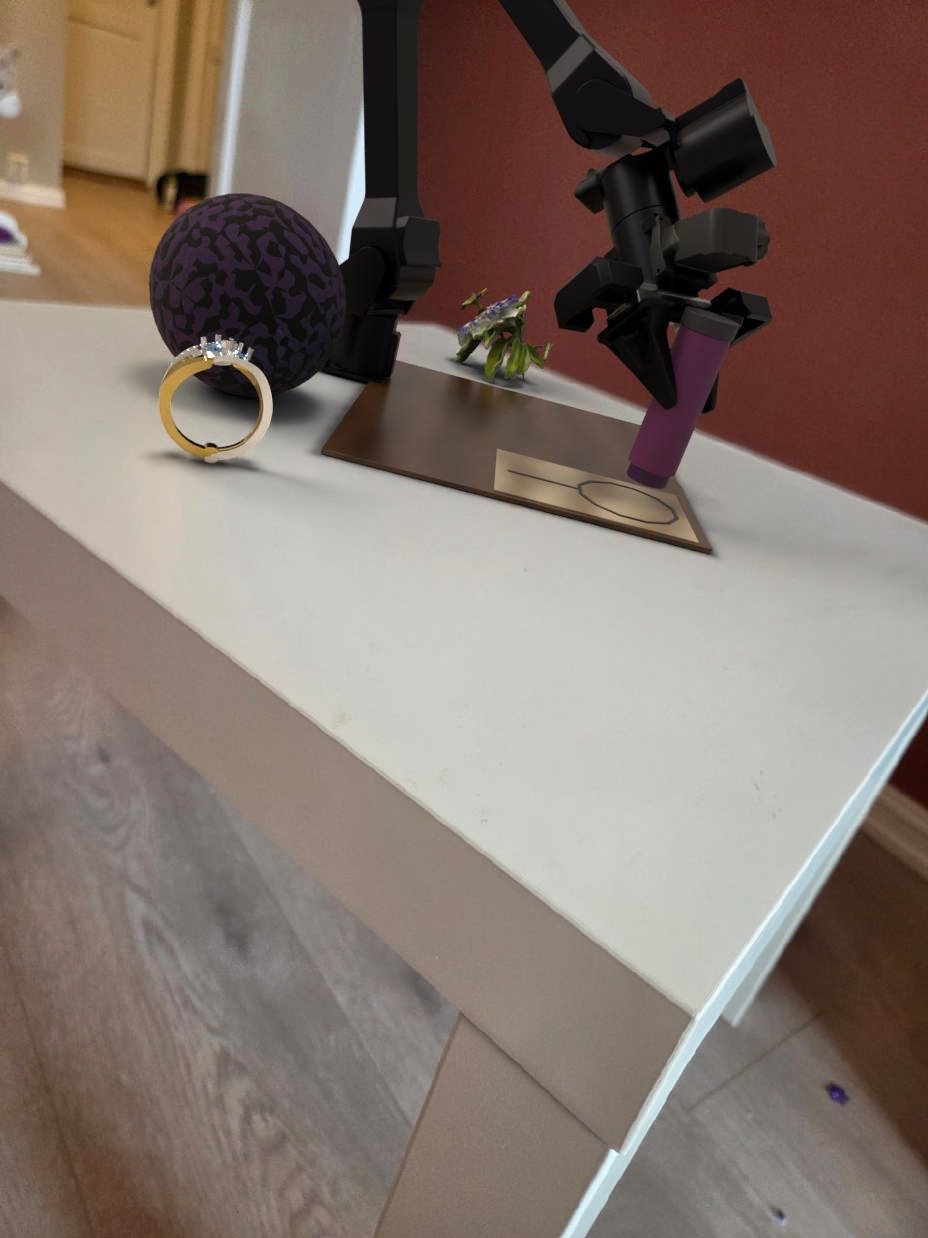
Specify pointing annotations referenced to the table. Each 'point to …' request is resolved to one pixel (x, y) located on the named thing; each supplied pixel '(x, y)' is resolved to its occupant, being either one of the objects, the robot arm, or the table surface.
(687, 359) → the dauber
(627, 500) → the board
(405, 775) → the table surface
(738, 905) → the table surface
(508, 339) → the passion flower
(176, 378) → the ring
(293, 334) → the toy ball
